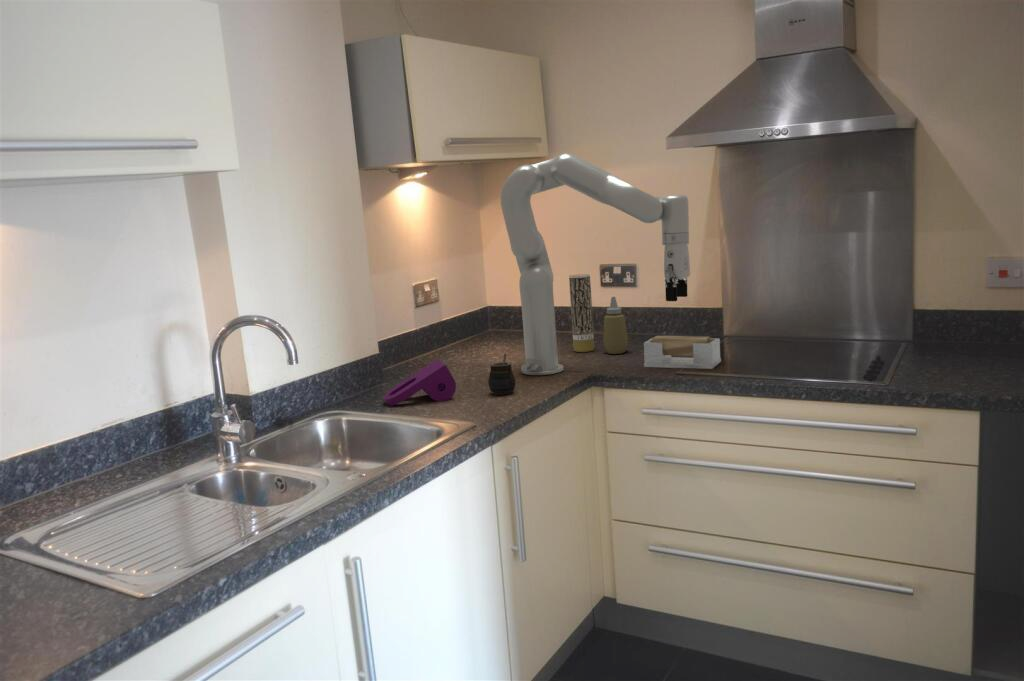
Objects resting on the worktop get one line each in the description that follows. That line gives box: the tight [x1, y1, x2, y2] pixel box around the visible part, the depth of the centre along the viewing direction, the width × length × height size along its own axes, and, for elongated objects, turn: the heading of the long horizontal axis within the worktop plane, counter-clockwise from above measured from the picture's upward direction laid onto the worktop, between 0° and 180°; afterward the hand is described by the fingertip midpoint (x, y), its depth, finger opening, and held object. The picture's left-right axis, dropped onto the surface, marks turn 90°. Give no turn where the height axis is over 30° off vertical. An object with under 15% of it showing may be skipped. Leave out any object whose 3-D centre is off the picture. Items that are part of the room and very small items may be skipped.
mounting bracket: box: [383, 358, 457, 407], centre depth 225 cm, size 9×8×18 cm
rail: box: [652, 335, 711, 357], centre depth 245 cm, size 4×16×5 cm, turn 62°
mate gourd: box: [487, 353, 517, 396], centre depth 225 cm, size 7×8×10 cm
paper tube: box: [568, 273, 595, 353], centre depth 276 cm, size 7×7×25 cm
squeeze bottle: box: [602, 296, 629, 355], centre depth 269 cm, size 8×8×18 cm
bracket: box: [643, 337, 722, 370], centre depth 245 cm, size 10×20×7 cm, turn 63°
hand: (676, 298), depth 244 cm, fingers open, 9 cm apart
